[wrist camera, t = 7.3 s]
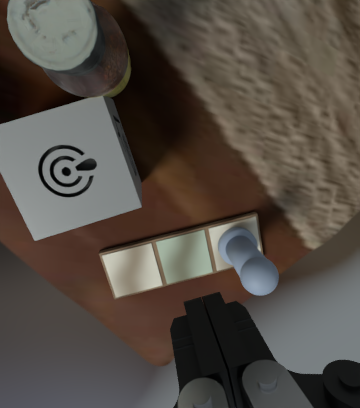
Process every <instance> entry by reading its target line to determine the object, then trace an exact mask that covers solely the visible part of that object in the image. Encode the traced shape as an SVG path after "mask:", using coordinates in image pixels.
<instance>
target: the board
mask: <svg viewBox="0 0 360 408" xmlns="http://www.w3.org/2000/svg"><path fill="white" fill-rule="evenodd" d="M233 227H243V228H245V229H247V230H249V231H250V232H251V233H252V234H253V235H254V237H255V238H256V240H257V245H258V247H257V248H258V250H259V251H260V252H261V253H262V254H263V250H262V243H261V236H260V229H259V222H258V214H257V213H256V212H252V213H248V214H244V215H240V216H236V217H232V218H228V219H224V220H220V221H216V222H212V223H208V224H204V225H201V226H197V227H193V228H189V229H185V230H181V231H177V232H173V233H169V234H165V235H161V236H157V237H153V238H149V239H145V240H141V241H137V242H133V243H129V244H125V245H121V246H118V247H114V248H110V249H106V250H102V251H100V252H99V255H100V258H101V261H102V264H103V267H104V270H105V273H106V276H107V279H108V282H109V285H110V288H111V291H112V293H113V296H114V299H118V298H122V297H126V296H129V295H133V294H137V293H141V292H145V291H148V290H152V289H156V288H160V287H164V286H167V285H171V284H175V283H179V282H183V281H186V280H190V279H194V278H198V277H202V276H205V275H209V274H213V273H217V272H221V271H224V270H228V269H232V268H234V266H233V265H230V264H228V263H226V262H225V261H224V260H223V258H222V257H221V255H220V253H219V251H218V241H219V239H220V237H221V235H222V234H223V233H224V232H225V231H227V230H228V229H230V228H233Z"/></svg>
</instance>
